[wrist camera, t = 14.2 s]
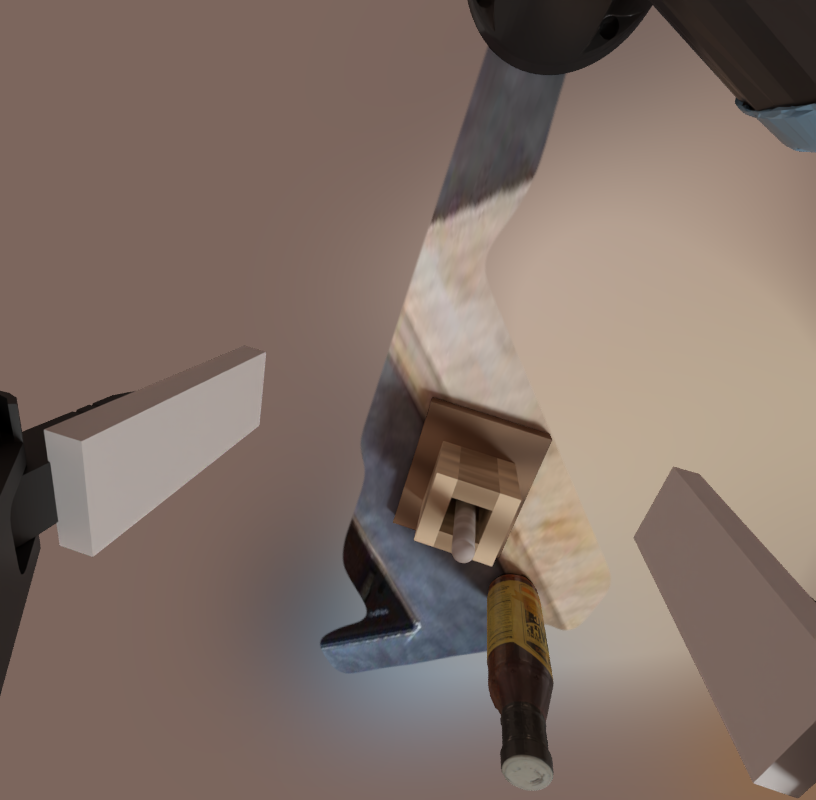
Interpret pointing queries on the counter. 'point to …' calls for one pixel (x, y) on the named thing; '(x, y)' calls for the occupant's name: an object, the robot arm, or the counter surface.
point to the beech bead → (469, 500)
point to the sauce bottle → (520, 679)
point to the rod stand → (479, 436)
